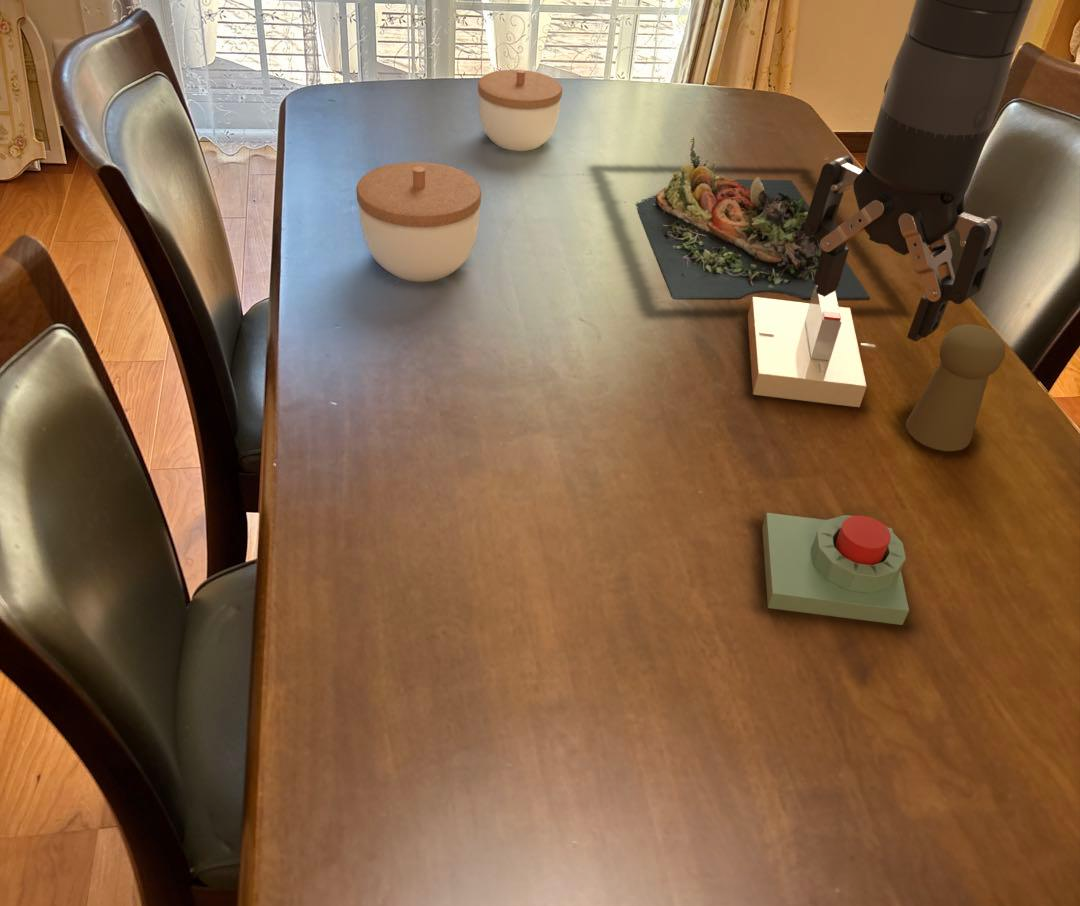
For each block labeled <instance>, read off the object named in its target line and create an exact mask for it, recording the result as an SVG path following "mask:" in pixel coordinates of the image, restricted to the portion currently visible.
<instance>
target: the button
mask: <svg viewBox="0 0 1080 906" xmlns="http://www.w3.org/2000/svg"><path fill="white" fill-rule="evenodd" d="M851 516H852V517H849V518H847V519H846V520H845V521H844V522H843V524H842V527H841V529H840V532H839V535H838V537H837V540H836V547H837V549H838V551H839V552H840V554H841V555H842V556H843V557H845V558H847V559H849V560H851V561H853V562H855V563H858V564H866V565H872V564H876V563H878V562H879V561H881V560H882V558H883V557H884V554H885V552H886V550H887V547H888V545H889V542H890V540H891V535H890V532H889V530H888V528H889V527H888V526H886V525H885V524H884V523H883V522H881V521H880V520H878V519H876V518H874V517H870V516H867V515H851ZM887 527H888V528H887Z"/></svg>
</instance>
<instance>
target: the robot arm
mask: <svg viewBox="0 0 1080 906" xmlns="http://www.w3.org/2000/svg"><path fill="white" fill-rule="evenodd" d="M1033 2H1034V0H915V1H914V5H913V8H912V12H911V15H910V18H909V20H908V21H909V22H908V24H907V29H906V32H905V35H904V37H903V40H902V42H901V45H900V47H899V48H898V52H897V53H896V56H895V59H894V61H893V64H892V67H891V69H890V70H891V71H890V73H889V77H888V79H886V80H887V81H886V84H885V86H884V88H883V89H884V90H883V98H882V101H881V103H880V108H879V111H878V114H877V118H876V121H875V125H874V128H873V131H872V135H871V138H870V142H869V145H868V148H867V151H866V156H865V165H864V168H863V169H862V168H859V167H858V166H856V165H854V161H853V159H852V157H851V156H850V155H842V156H840V157H837V158H835V159H832V160H831V161H829V162H827V163H825V164H824V165H823V166H822V168H821V171H820V174H819V177H818V179H817V183H816V186H815V190H814V193H813V194H812V195H813V196H812V198H811V201H810V205H809V207H810V208H809V211H808V214H807V217H806V220H805V223H804V227H803V228H804V232H805V233H806V234H807V235H808V236H814V237H815V238H816V239H817V240H818V241H819V242H820V246H821V248H822V251H821V255H820V258H819V262H818V265H817V269H816V273H815V276H814V284H815V285H817V289H816V293H818V294H820V295H822V296H824V297H825V296H827V295H829V294H830V293H832V292H834V291H835V290H836V289H837V287H838V285H839V281H840V278H841V275H842V271H843V268H844V265H845V261H846V262H847V258H848V254H849V251H850V248H849V247H847V243H849V242H850V241H851V240H853V239H855V238H856V237H857V236H859V235H860V234H861V233H863V232H866V234H867V235H868V236H869V238H868V240H869V241H871V242H873V243H876V244H878V245H879V244H880V245H886V246H888V247H890V248H891V249H892V250H893V251H894V252H896V253H898V254H900V255H902V256H906V255H907V254H909V256H910V260H911V264H912V267H913V270H914V272H915V273H916V274H918V275H919V277H920V281H921V284H922V287H923V291H924V295H923V296H921V297H920V300H919V302H918V306H917V308H916V310H915V314H914V316H913V319H912V322H911V324H910V328H909V330H908V332H907V339H909V340H912V341H913V342H916V343H917V342H918V341H920V340H922V339H923V338H924V339H925V338H927V337H928V336H929V335H931V334H933V333H934V332H935V331H936V330H937V329H938V328H939V327H940V324H941V321H942V319H943V316H944V313H945V311H946V308H947V306H948V304H949V302H952V303H953V304H956V305H960V304H963V303H964V302H966V301H967V300H969V299H970V298H972V297H973V296H975V295H977V294H978V293H980V291H982V288H983V284H984V281H985V278H986V276H987V273H988V270H989V268H990V264H991V260H992V258H993V254H994V251H995V249H996V246H997V242H998V240H999V237H1000V234H1001V230H1002V229H1003V221H1002V219H1001V217H999V216H997V215H991V216H988V217H987V218H983V217H980V216H978V215H974V214H971V213H969V212H965V211H966V210H965V209H966V208H965V196H966V193H967V191H968V189H969V187H970V185H971V182H972V180H973V177H974V174H975V171H976V168H977V166H978V163H979V161H980V158H981V155H982V152H983V150H984V147H985V144H986V142H987V139H988V137H989V134H990V131H991V128H992V125H993V123H994V120H995V117H996V115H997V112H998V109H999V107H1000V105H1001V101H1002V98H1003V96H1004V93H1005V90H1006V87H1007V83H1008V79H1009V75H1010V70H1011V66H1012V61H1013V58H1014V56H1015V52H1016V48H1017V45H1018V43H1019V40H1020V38H1021V34H1022V32H1023V29H1024V26H1025V24H1026V21H1027V19H1028V16H1029V13H1030V10H1031V8H1032V5H1033ZM852 186H853V193H854V197H855V201H856V204H857V208H858V211H857V212H856V213H854V214H853V215H852V216H850V217H849V218H848V219H846V220H845V221H843V222H842V223H841V224H839V225H838V224H837V223H836V222H835V219H836V216H837V213H838V211H839V208H840V205H841V203H842V199H843V197H844V194H845V192H847V191H848V190H850V189H851V188H852ZM954 230H957V231H958V233H959V246H960V247H961V248H963V250H962V253H961V257H960V260H959V263H958V267H957V270H956V273H955V272H954V268H953V264H952V258H953V249H952V247H951V243H950V239H949V236H948V234H950V233H951V232H952V231H954ZM929 246H930V247H931V252H930V250H929Z"/></svg>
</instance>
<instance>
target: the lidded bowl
mask: <svg viewBox="0 0 1080 906" xmlns="http://www.w3.org/2000/svg"><path fill="white" fill-rule="evenodd" d="M356 201H357V204H358V213H359V214H358V215H359V223H360V228H361V232H362V236H363V239H364V242H365V245H366V247H367V249H368V251H369V254H371V256H372V258H373V259H374V261H376V263H377V264H378V265H380V266H381V267H382V269H384V270H385V271H387V272H388V273H390V274H391V275H393V276H395V277H396V278H399V279H402V280H406V281H410V282H411V281H412V282H418V283H419V282H421V283H422V282H432V281H437V280H441V279H444V278H446V277H447V276H450V275H451V274H453V273H454V272H456V271H457V270H458V269H459V268H460V267H461V266H462V265H463V264H464V263H465V262H466V260H468V258H469V256H470V254H471V252H472V251H473V248H474V246H475V242H476V240H477V236H478V235H477V234H478V228H479V224H480V206H481V204H482V203H481V202H482V189H481V186H480V184H479V183H478V181H477V180H476V179H475V178H474V177H473V176H471V175H470V174H468V173H467V172H465V171H463V170H461V169H458V168H456V167H453V166H449V165H445V164H441V163H436V162H435V163H434V162H427V161H426V162H425V161H408V162H407V161H404V162H396V163H391V164H386V165H383V166H380V167H377V168H374V169H372V170H370V171H369V172H367V173H365V174H364V175H363V176H362V177H360V180H358V182H357V184H356Z"/></svg>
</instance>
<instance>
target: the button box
mask: <svg viewBox="0 0 1080 906" xmlns="http://www.w3.org/2000/svg"><path fill="white" fill-rule="evenodd" d="M852 516H853V515H850V514H849V515H847V514H844V515H840V516H836V517H832V518H829V519H822V518H813V517H806V516H798V515H791V514H790V515H789V514H781V513H775V512H774V513H773V512H766V513H765V517H764V520H763V524H762V527H761V529H762V544H763V557H764V558H763V559H764V572H765V588H766V589H765V590H766V602H767V608H768V609H774V610H781V611H788V612H789V611H790V612H798V613H805V614H813V615H820V616H828V617H836V618H844V619H851V620H859V621H867V622H868V621H869V622H875V623H883V624H891V625H899V626H903V625H904V623H905V620H906V619H907V616H908V614H909V613H910V607H909V603H908V598H907V594H906V588H905V584H904V579H903V574H902V570H903V567H904V564H905V563H906V560H907V556H906V552H905V547H904V543H903V541H902V540H901V539H900V538H899V537H898V536H897V535H896V534H895V533H894V530H893V528H892V527H888V526H886V527H887V528H888V530H889V532H890V535H891V540H890V542H889V545H888V547H887V550H886V552H885V554H884V557H883V558H882V560H881V561H879V562H878V563H876V564H872V565H866V564H858V563H855V562H853V561H851V560H849V559H847V558H845V557H843V556H842V555H841V554H840V552H839V551H838V549H837V547H836V540H837V537H838V535H839V532H840V529H841V527H842V524H843V522H844V521H845V520H846V519H847V518H849V517H852Z"/></svg>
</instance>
